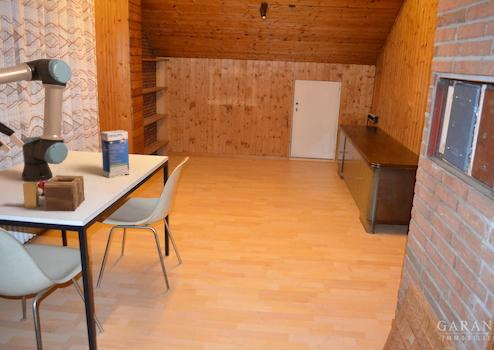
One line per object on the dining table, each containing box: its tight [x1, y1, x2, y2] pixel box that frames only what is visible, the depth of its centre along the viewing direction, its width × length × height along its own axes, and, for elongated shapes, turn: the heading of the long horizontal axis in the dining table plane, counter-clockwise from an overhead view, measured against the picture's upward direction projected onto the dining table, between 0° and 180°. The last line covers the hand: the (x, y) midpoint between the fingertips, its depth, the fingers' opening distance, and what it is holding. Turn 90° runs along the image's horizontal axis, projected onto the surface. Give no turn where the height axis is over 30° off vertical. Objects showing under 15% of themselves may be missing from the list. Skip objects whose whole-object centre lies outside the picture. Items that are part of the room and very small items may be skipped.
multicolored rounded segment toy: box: [38, 179, 49, 197], centre depth 207 cm, size 8×10×7 cm
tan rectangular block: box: [22, 181, 41, 209], centre depth 188 cm, size 4×5×11 cm
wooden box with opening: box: [43, 174, 85, 212], centre depth 191 cm, size 16×12×12 cm
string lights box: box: [100, 129, 130, 179], centre depth 244 cm, size 13×8×26 cm, turn 137°
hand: (15, 148), depth 188 cm, fingers open, 13 cm apart
